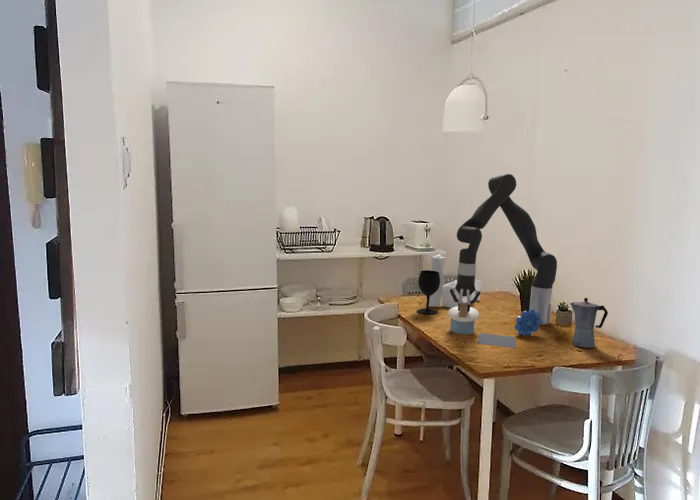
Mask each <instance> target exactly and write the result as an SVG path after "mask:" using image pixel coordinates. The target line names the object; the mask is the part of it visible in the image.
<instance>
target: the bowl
mask: <svg viewBox="0 0 700 500" xmlns="http://www.w3.org/2000/svg"><path fill="white" fill-rule="evenodd" d="M475 324H476V320H474V321H471V322H459V321H456V320H453V319H451V318H450V327H449V330H450V332H452V333H455V334H459V335H473V334H474V332H475Z"/></svg>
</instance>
